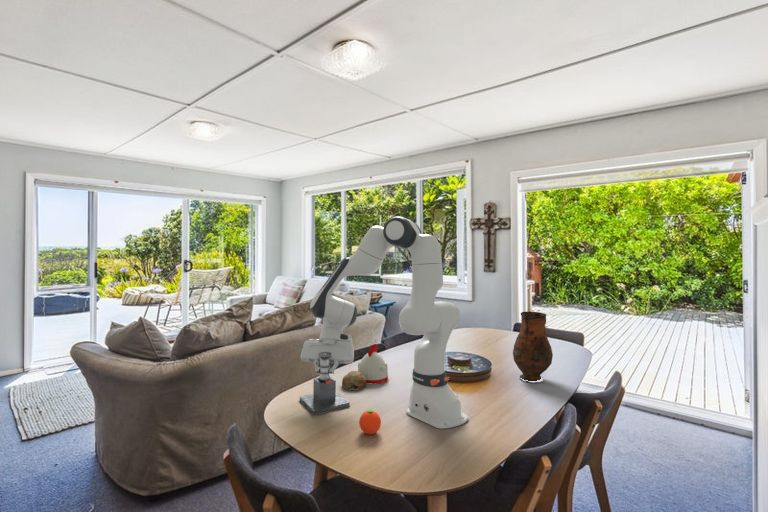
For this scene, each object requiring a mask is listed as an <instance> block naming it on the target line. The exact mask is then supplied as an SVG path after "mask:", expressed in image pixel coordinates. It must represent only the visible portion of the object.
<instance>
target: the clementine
mask: <svg viewBox="0 0 768 512" xmlns="http://www.w3.org/2000/svg"><path fill="white" fill-rule="evenodd" d="M358 422H359V423H358V425H359V428H360V430H361V431H362V432H363V433H365V434H366V435H374V434H375V433H377V432H378V431H379V430H380V428H381V425H382V419H381V416H380V414H378V412H376V411H375V410H373V409H371V408H370V409H368V408H367V410H366V411H364V412H363V413H362V414H361V416H360V417H359V421H358Z"/></svg>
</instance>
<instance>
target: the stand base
mask: <svg viewBox="0 0 768 512" xmlns="http://www.w3.org/2000/svg"><path fill="white" fill-rule="evenodd" d="M336 384H337V382H336V380H335V378H332V376H330V380H326V381H325V382H323V383H321V382H320V380H319V377H315V378H313V386H312V387H313V393H310V394H306V395H301V396H299V401H300V403H301V404H302V405H304V407H305V408H306V409H307V410H308V411H309V412H310V413H311V414H312V415H313V416H315V415H316V416H317V415H319V414H320V415H321V414H324V413H328V412H332V411H336V410H337V411H338V410H340V409H345V408H348V407H350V406H351V403H350V401H348V399H346V398H345V397H343V396H342V395H341V394H340V393H339V392H338V391H336V390H337V389H336V387H337V385H336Z"/></svg>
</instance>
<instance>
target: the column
mask: <svg viewBox="0 0 768 512" xmlns="http://www.w3.org/2000/svg"><path fill="white" fill-rule="evenodd" d="M319 357H320V363H319V364H318V367H320V370H319V373H318V374H319V377H318V378H319V380H320V382H321V383H323V382H325V381H326V380H330V377H331V376H330V373H329V370H330V367H331V363H330V357H331V353H330V352H321V353H319Z"/></svg>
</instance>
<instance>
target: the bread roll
mask: <svg viewBox="0 0 768 512" xmlns="http://www.w3.org/2000/svg"><path fill="white" fill-rule="evenodd" d="M341 386H342V387H343V388H345V389H346V388H347V389H346V390H349V389H351V391H356V390H355V389H358V390H362V389H364V388H365V387H366V386H367V383H366V379H365V377H364V376H363V375H362V374H361V373H360V372H358V370H352V371H350V372H348V373H347V374H345V375H344V376H343V377H342V380H341ZM361 388H362V389H361Z"/></svg>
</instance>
